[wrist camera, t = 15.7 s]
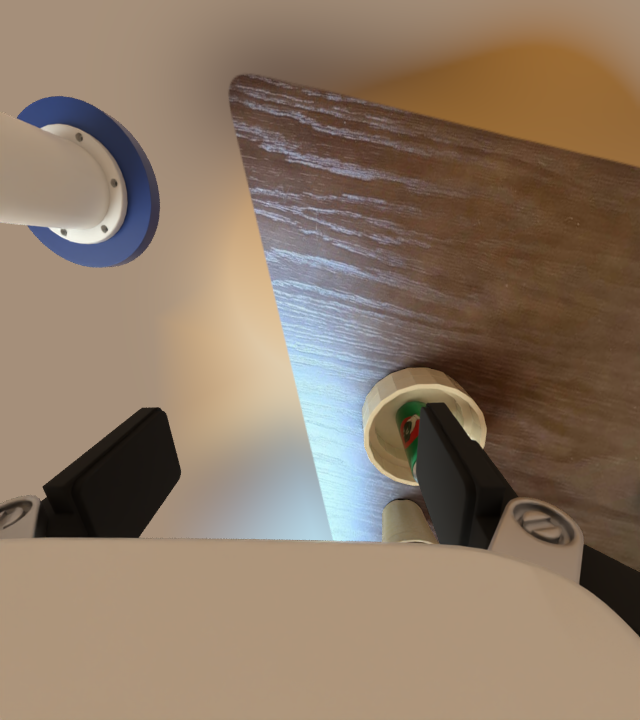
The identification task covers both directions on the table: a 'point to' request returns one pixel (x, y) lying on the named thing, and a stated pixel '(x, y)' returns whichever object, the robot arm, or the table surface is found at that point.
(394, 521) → the flower pot
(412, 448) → the soda can
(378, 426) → the bowl
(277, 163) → the table surface
